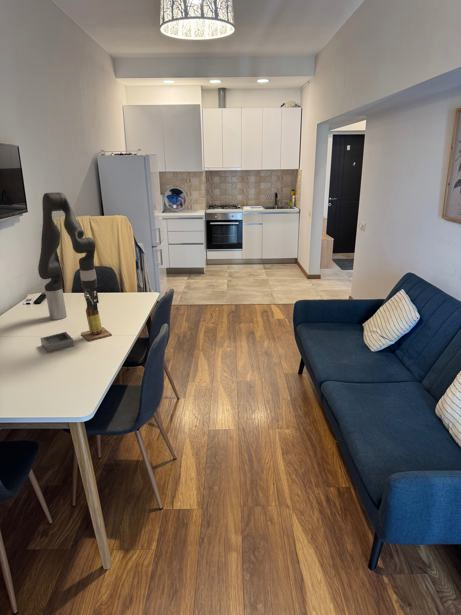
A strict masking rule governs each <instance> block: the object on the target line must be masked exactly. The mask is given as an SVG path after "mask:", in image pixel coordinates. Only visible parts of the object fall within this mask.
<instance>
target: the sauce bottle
mask: <svg viewBox="0 0 461 615" xmlns="http://www.w3.org/2000/svg"><path fill="white" fill-rule="evenodd" d="M84 298H85V302H86V308H85V313H86V314H85V315H86V320H87V323H88V324H87V326H88V329H89V330H88V331H90V333H91V334H92V335H97V334H100V333H102V327H103V326H102V323H101V317H100V312H99V309H98V310H97V311H93V305H92V301H91V300H90V299H89V297H84Z"/></svg>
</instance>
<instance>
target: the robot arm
mask: <svg viewBox="0 0 461 615" xmlns="http://www.w3.org/2000/svg"><path fill="white" fill-rule="evenodd" d="M41 200H42V202H41V205H42V229H41V239H40V240H41V243H40V255H39V261H38V266H37V267H38V268H37V269H38V270H37V271H38V275H39V278H41V279H42V280H49V279H50V280H49V281H48V282H46V284H45V285H44V291H45V298H46V303H47V304H46V305H47V307H48V308H47V309H48V313H49V319H50V320H52V321H53V320H54V321H55V320H62V319H65V318H67V317H68V316H67V309H66V304H65V298H64V291H63V281H62V280H63V278H62V270H61V266H60V263H59V262H58V261H56V260H51V258H52V257H53V255H55V253H56V251H57V250H58V249H59V247H60V244H61V235H62V234H61V232H60V231H61V230H60V229H59V227H58V226H57V224H56V223H55V221H54V220H53V212H63V213H64V219H63V227H64V231H66V233H67V236H69V238H70V241H71V245H72V249H73V251H74V252H75V253H76V254H80V255H81V254H85V255H84V256H82V257H81V258H79V259H78V265H79V267H78V268H79V277H80V283H81V288H82V289H83V295H84V298H85V297H89V299H90V300H91V301H92V305H93V311H97V310H98V311H99V306H98V304H99V302H100V300H99V295H98V292H97V291H96V290H95V288H97V287H98V280H97V273H96V269H95V268H96V267H95V254H96V242H95V240H94V238H92V237H84V236H85V231H84V230H83V228H82V227H81V225H80V224H79V222H78V220H77V218H76V216H75V214H74V211H73V209H72V207H71V203H70V202H69V200H68V198H67V196H66V194H65V193H64V192H45V193H44V194H43V195H42V199H41Z"/></svg>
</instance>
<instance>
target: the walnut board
mask: <svg viewBox="0 0 461 615" xmlns="http://www.w3.org/2000/svg"><path fill="white" fill-rule="evenodd" d="M80 334H81V336H82V337H84V339H86V340H87V341H88V342H93V341H97V340H100V339H104V338H108V337H111V336H113V335H112V333H111V332H110V331H109V330H107V329H106V328H105V327H103V326H102V333H100V334H97V335H92V334H91V333H90V330H87V331H82V332H81V333H80Z"/></svg>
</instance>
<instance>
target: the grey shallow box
mask: <svg viewBox="0 0 461 615" xmlns="http://www.w3.org/2000/svg"><path fill="white" fill-rule="evenodd" d="M40 343H41V347H42V348H43V349H44V350H45V351H46V353H47V354H50V353H54V352H57V351H60V350H61V351H62V350H66V349H69V348H73V347H75V343H74V339H73V337H72V336H71V335H70V334H69V333H67V331H64V332H61V333H60V332H59V333H55V334H51V335H47V336H44V337H40Z"/></svg>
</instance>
